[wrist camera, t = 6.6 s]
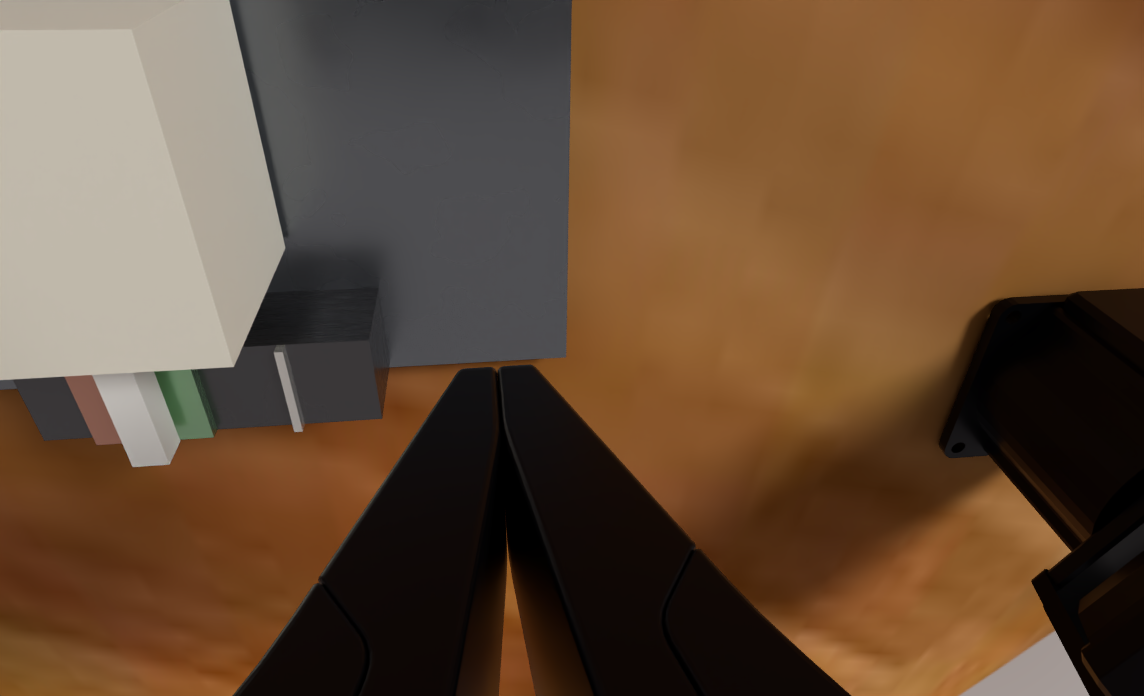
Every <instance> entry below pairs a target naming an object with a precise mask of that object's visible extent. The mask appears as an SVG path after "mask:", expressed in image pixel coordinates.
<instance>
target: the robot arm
mask: <svg viewBox="0 0 1144 696" xmlns="http://www.w3.org/2000/svg"><path fill="white" fill-rule="evenodd" d="M1011 312H1012V313H1011ZM1010 313H1011V314H1010ZM1008 314H1010V315H1009V316H1008ZM1007 316H1008V317H1007ZM497 379H498V380H497ZM939 447H940V449H941V450H942V451H943V453H944V454H945V455H946V456H947V457H949V458H961V457H974V456H987V455H989V456H990V457H991V458H992V459H993V461H994V462H995V463H996V464H997V465H998V466H999V468H1000V469H1001V470H1002V471H1003V472H1004V473H1005V475H1006V476H1007V477H1008V478H1009V479H1010V480H1011V482H1012V483H1013V484H1014V485H1015V486H1016V487H1017V489H1018V490H1019V491H1020V492H1021V493H1022V494H1023V496H1024V497H1025V498H1026V499H1027V500H1028V501H1029V503H1030V504H1031V505H1032V506H1033V507H1034V508H1035V510H1036V511H1037V512H1038V513H1039V514H1040V515H1041V516H1042V518H1043V519H1044V520H1045V521H1046V522H1047V523H1048V525H1049V526H1050V527H1051V528H1052V529H1053V530H1054V532H1055V533H1056V534H1057V535H1058V536H1059V537H1060V539H1061V540H1062V541H1063V542H1064V543H1065V544H1066V546H1067V547H1068V548H1069V549H1070V550H1071V551H1072V552H1071V553H1069V554H1068V555H1067V556H1066V557H1064V558H1063V559H1062V560H1061V561H1060V562H1058V563H1057V564H1056V565H1055V566H1054V567H1052V568H1051V569H1050V570H1047V569H1044V570H1043V571H1042V572H1041V573H1040V574H1038V575H1037V576H1036V577H1035V578H1034V579H1032V581H1031V582H1032V584H1033V586H1034V588H1035V590H1036V592H1037V594H1038V596H1039V598H1040V600H1041V601H1042V603H1043V607H1044V610H1045V612H1046V614H1047V616H1048V617H1049V619H1050V621H1051V623H1052V625H1053V627H1054V629H1055V631H1056V633H1057V634H1058V636H1059V638H1060V640H1061V642H1062V644H1063V646H1064V648H1065V650H1066V652H1067V654H1068V655H1069V657H1070V659H1071V661H1072V663H1073V665H1074V667H1075V669H1076V671H1077V672H1078V674H1079V676H1080V678H1081V680H1082V682H1083V684H1084V686H1085V688H1086V690H1087V692H1088V693H1089V695H1090V696H1144V288H1139V289H1119V290H1100V291H1081V292H1075V293H1072V294H1069V295H1050V296H1030V297H1011V298H1007V299H1004V300H1002V301H1000V302H999V303H998V304H997V305H996V306H995V307H994V308H993V310H992V312H991V314H990V316H989V319H988V321H987V324H986V326H985V329H984V331H983V334H982V336H981V339H980V341H979V344H978V346H977V349H976V351H975V354H974V356H973V359H972V361H971V364H970V366H969V369H968V371H967V374H966V376H965V379H964V381H963V384H962V386H961V389H960V391H959V393H958V396H957V398H956V401H955V403H954V406H953V408H952V411H951V413H950V416H949V418H948V421H947V423H946V426H945V428H944V431H943V433H942V436H941V438H940V441H939ZM505 515H506V516H505ZM506 530H507V537H506ZM507 543H508V553H509V561H510V567H511V573H512V579H513V584H514V589H515V594H516V599H517V604H518V609H519V614H520V619H521V624H522V629H523V634H524V639H525V644H526V649H527V654H528V659H529V664H530V669H531V674H532V679H533V684H534V689H535V694H536V696H851V695H850V694H849V693H848V692H847V691H845V690H844V689H843V688H842V687H841V686H840V685H839V684H838V683H836V682H835V681H834V680H833V679H832V678H831V677H830V676H828V675H827V674H826V673H825V672H824V671H823V670H822V669H821V668H819V667H818V666H817V665H816V664H815V663H814V662H813V661H812V660H810V659H809V658H808V657H807V656H806V655H805V654H804V653H803V652H802V651H801V650H800V649H798V648H797V647H796V646H795V645H794V644H793V643H792V642H791V641H790V640H789V639H788V638H787V637H786V636H784V635H783V634H782V633H781V632H780V631H779V630H778V629H777V628H776V627H775V626H774V625H773V624H772V623H771V622H769V621H768V620H767V619H766V618H765V617H764V616H763V615H762V614H761V613H760V612H759V611H758V610H757V609H756V608H755V607H754V606H753V605H752V604H751V603H750V602H749V601H748V600H747V599H746V598H745V596H744V595H743V594H742V593H741V592H740V591H739V590H738V589H737V588H736V587H735V586H734V585H733V584H732V583H731V582H730V581H729V580H728V579H727V578H726V577H725V576H724V575H723V574H722V572H721V571H720V570H719V569H718V568H717V567H716V566H715V565H714V564H713V562H712V561H711V560H710V559H709V558H708V557H707V556H706V555H705V553H704V552H703V551H702V550H701V549H695V548H696V545H695V543H694V542H693V541H692V540H691V538H690V537H689V536H688V535H687V534H686V533H685V532H684V531H683V530H682V528H681V527H680V526H679V525H678V524H677V523H676V522H675V521H674V520H673V519H672V517H671V516H670V515H669V514H668V513H667V512H666V511H665V510H664V509H663V507H662V506H661V505H660V504H659V503H658V502H657V501H656V500H655V499H654V498H653V496H652V495H651V494H650V493H649V492H648V491H647V490H646V489H645V488H644V486H643V485H642V484H641V483H640V482H639V481H638V480H637V479H636V478H635V477H634V475H633V474H632V473H631V472H630V471H629V470H628V469H627V468H626V467H625V465H624V464H623V463H622V462H621V461H620V460H619V459H618V458H617V457H616V456H615V454H614V453H613V452H612V451H611V450H610V449H609V448H608V447H607V446H606V444H605V443H604V442H603V441H602V440H601V439H600V438H599V437H598V436H597V435H596V433H595V432H594V431H593V430H592V429H591V428H590V427H589V426H588V425H587V423H586V422H585V421H584V420H583V419H582V418H581V417H580V416H579V415H578V414H577V412H576V411H575V410H574V409H573V408H572V407H571V406H570V405H569V404H568V402H567V401H566V400H565V399H564V398H563V397H562V396H561V395H560V394H559V393H558V391H557V390H556V389H555V388H554V387H553V386H552V385H551V384H550V383H549V381H548V380H547V379H546V378H545V377H544V376H543V375H542V374H541V373H540V372H539V370H538V369H537V368H536V367H534V366H532V365H517V366H503V367H501V368H499V370H498V372H496V370H495V369H494V368H492V367H484V368H467V369H461V370H460V371H458V373H457V374H456V375H455V377H454V378H453V380H452V381H451V383H450V384H449V386H448V387H447V389H446V390H445V392H444V393H443V395H442V396H441V398H440V399H439V401H438V402H437V404H436V405H435V406H434V408H433V409H432V411H431V412H430V414H429V415H428V417H427V418H426V420H425V421H424V423H423V424H422V426H421V427H420V429H419V430H418V432H417V433H416V435H415V436H414V438H413V439H412V441H411V442H410V443H409V445H408V446H407V448H406V449H405V451H404V452H403V454H402V455H401V457H400V458H399V460H398V461H397V463H396V464H395V466H394V467H393V469H392V470H391V472H390V473H389V475H388V476H387V478H386V479H385V480H384V482H383V483H382V485H381V486H380V488H379V489H378V491H377V492H376V494H375V495H374V497H373V498H372V500H371V501H370V503H369V504H368V506H367V507H366V509H365V510H364V512H363V513H362V515H361V516H360V517H359V519H358V520H357V522H356V523H355V525H354V526H353V528H352V529H351V531H350V532H349V534H348V535H347V537H346V538H345V540H344V541H343V543H342V544H341V546H340V547H339V549H338V550H337V552H336V553H335V554H334V556H333V557H332V559H331V560H330V562H329V563H328V565H327V566H326V568H325V569H324V571H323V572H322V574H321V575H320V577H319V579H318V581H319V583H317V584H314V585H313V586H312V588H311V589H310V591H309V592H308V594H307V595H306V597H305V598H304V600H303V601H302V603H301V604H300V606H299V607H298V609H297V610H296V612H295V613H294V615H293V616H292V618H291V619H290V620H289V622H288V623H287V625H286V626H285V627H284V629H283V630H282V632H281V633H280V634H279V636H278V637H277V638H276V640H275V641H274V643H273V644H272V645H271V647H270V648H269V650H268V651H267V652H266V654H265V655H264V656H263V658H262V659H261V661H260V662H259V663H258V665H257V666H256V667H255V669H254V670H253V671H252V672H251V674H250V675H249V676H248V677H247V678H246V680H245V681H244V682H243V683H242V685H241V686H240V687H239V688H238V690H237V691H236V692H235V693H234V695H233V696H499V683H500V668H501V653H502V638H503V623H504V608H505V593H506V577H507Z"/></svg>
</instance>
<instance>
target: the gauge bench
mask: <svg viewBox="0 0 1144 696" xmlns="http://www.w3.org/2000/svg"><path fill="white" fill-rule="evenodd" d="M229 2H230V6H231V11H232V15H233V20H234V24H235V28H236V33H237V37H238V42H239V46H240V50H241V55H242V59H243V64H244V68H245V72H246V77H247V81H248V86H249V90H250V94H251V99H252V103H253V108H254V112H255V116H256V121H257V125H258V130H259V134H260V138H261V143H262V147H263V151H264V156H265V160H266V165H267V169H268V173H269V178H270V182H271V187H272V191H273V195H274V200H275V204H276V209H277V213H278V217H279V222H280V226H281V231H282V235H283V239H284V244H285V250H284V252H283V255H282V257H281V259H280V261H279V264H278V266H277V268H276V271H275V273H274V275H273V278H272V280H271V282H270V285H269V287H268V289H267V291H266V294H265V296H264V298H263V301H262V303H261V305H260V308H259V310H258V312H257V315H256V317H255V319H254V321H253V324H252V326H251V328H250V331H249V333H248V335H247V338H246V340H245V342H244V345H243V347H242V349H241V351H240V354H239V356H238V358H237V361H236V363H235V365H234V367H225V368H207V369H189V370H171V371H154V373H155V376H156V378H157V381H158V384H159V386H160V389H161V392H162V394H163V397H164V399H165V402H166V405H167V407H168V410H169V412H170V415H171V418H172V420H173V423H174V426H175V428H176V431H177V433H178V436H179V439H180V440H182V439H197V438H212V437H214V436H215V434H216V432H217V429H230V428H246V427H261V426H276V425H293V429H294V432H303V429H304V425H305V424H307V423H323V422H338V421H353V420H369V419H382V416H383V409H384V401H385V394H386V387H387V380H388V372H389V367H404V366H422V365H439V364H456V363H474V362H491V361H509V360H526V359H543V358H561V357H566V329H567V265H568V201H569V137H570V73H571V9H572V0H229ZM4 389H18V391H19V393H20V395H21V397H22V399H23V401H24V402H25V404H26V406H27V408H28V410H29V412H30V414H31V416H32V418H33V420H34V422H35V424H36V425H37V427H38V429H39V431H40V433H41V435H42V437H43V439H44V441H46V440H61V439H77V438H92V437H93V439H94V441H95V443H96V445H107V444H122V442H121V440H120V437H119V435H118V433H117V431H116V428H115V426H114V424H113V421H112V419H111V417H110V415H109V412H108V410H107V408H106V406H105V403H104V401H103V399H102V397H101V394H100V392H99V390H98V388H97V385H96V383H95V381H94V379H93V376H92V375H82V376H64V377H47V378H29V379H11V380H0V390H4Z"/></svg>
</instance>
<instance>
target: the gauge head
mask: <svg viewBox="0 0 1144 696" xmlns="http://www.w3.org/2000/svg"><path fill="white" fill-rule="evenodd" d="M284 250H285V244H284V239H283V235H282V231H281V226H280V222H279V217H278V213H277V209H276V204H275V200H274V195H273V191H272V187H271V182H270V178H269V173H268V169H267V165H266V160H265V156H264V151H263V147H262V143H261V138H260V134H259V130H258V125H257V121H256V116H255V112H254V108H253V103H252V99H251V94H250V90H249V86H248V81H247V77H246V72H245V68H244V64H243V59H242V55H241V50H240V46H239V42H238V37H237V33H236V28H235V24H234V20H233V15H232V11H231V6H230V2H229V0H0V380H11V379H29V378H47V377H64V376H82V375H92V376H93V379H94V381H95V383H96V385H97V388H98V390H99V392H100V394H101V397H102V399H103V401H104V403H105V406H106V408H107V410H108V412H109V415H110V417H111V419H112V421H113V424H114V426H115V428H116V431H117V433H118V435H119V437H120V440H121V442H122V444H123V446H124V449H125V451H126V453H127V455H128V458H129V460H130V462H131V464H132V467H142V466H156V465H170V463H171V460H172V458H173V456H174V454H175V452H176V450H177V448H178V445H179V443H180V439H179V436H178V433H177V431H176V428H175V426H174V423H173V420H172V418H171V415H170V412H169V410H168V407H167V405H166V402H165V399H164V397H163V394H162V392H161V389H160V386H159V384H158V381H157V378H156V376H155V373H154V371H171V370H189V369H207V368H225V367H234V365H235V363H236V361H237V358H238V356H239V354H240V351H241V349H242V347H243V345H244V342H245V340H246V338H247V335H248V333H249V331H250V328H251V326H252V324H253V321H254V319H255V317H256V315H257V312H258V310H259V308H260V305H261V303H262V301H263V298H264V296H265V294H266V291H267V289H268V287H269V285H270V282H271V280H272V278H273V275H274V273H275V271H276V268H277V266H278V264H279V261H280V259H281V257H282V255H283V252H284Z"/></svg>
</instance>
